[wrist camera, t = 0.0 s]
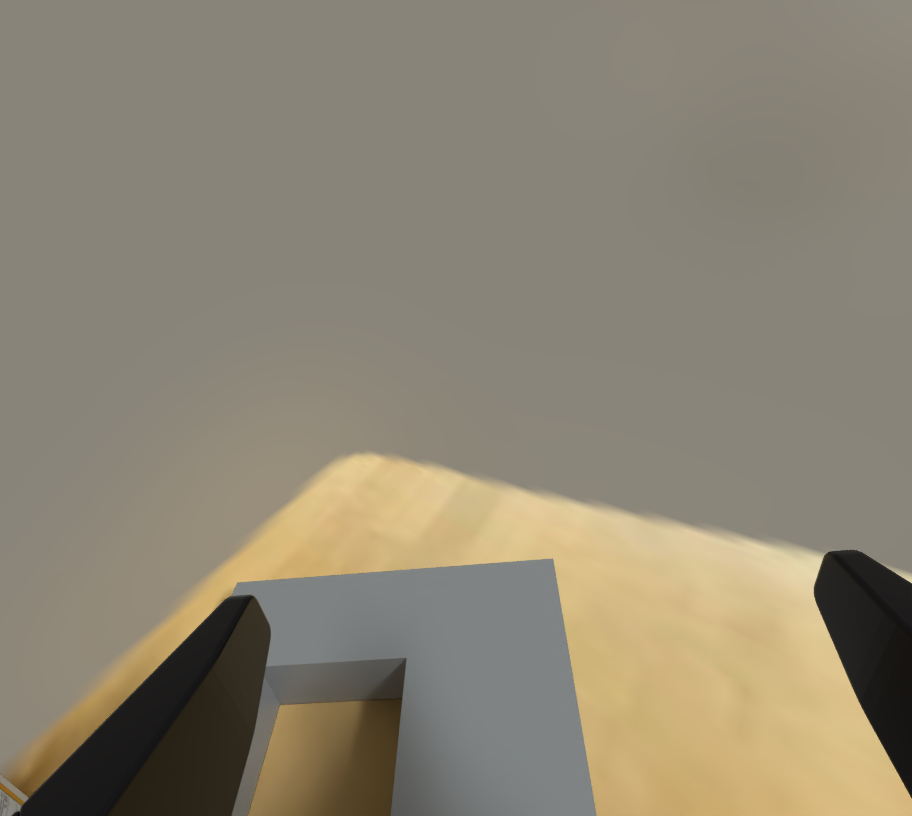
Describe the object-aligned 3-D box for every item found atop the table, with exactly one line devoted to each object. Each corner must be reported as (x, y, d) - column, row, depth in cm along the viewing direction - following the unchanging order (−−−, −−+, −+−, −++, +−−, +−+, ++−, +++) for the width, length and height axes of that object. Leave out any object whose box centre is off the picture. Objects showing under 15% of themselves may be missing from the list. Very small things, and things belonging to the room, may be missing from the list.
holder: (635, 1098, 15) (641, 1078, 13) (77, 1093, 16) (20, 1073, 14) (555, 598, 28) (552, 558, 26) (256, 619, 29) (237, 582, 28)
